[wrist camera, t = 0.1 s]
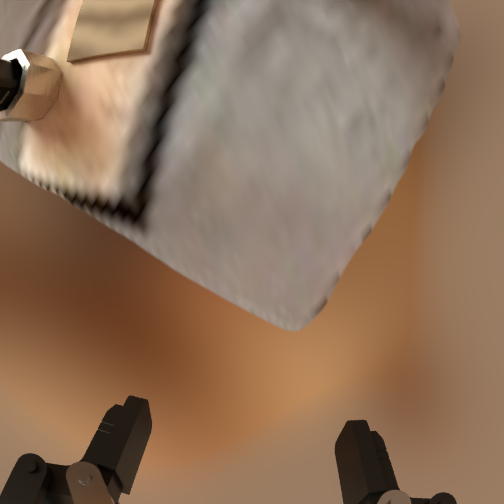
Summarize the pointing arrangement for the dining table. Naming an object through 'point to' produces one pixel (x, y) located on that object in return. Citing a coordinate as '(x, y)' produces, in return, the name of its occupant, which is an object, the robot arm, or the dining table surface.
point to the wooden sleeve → (32, 87)
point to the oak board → (111, 28)
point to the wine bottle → (9, 81)
